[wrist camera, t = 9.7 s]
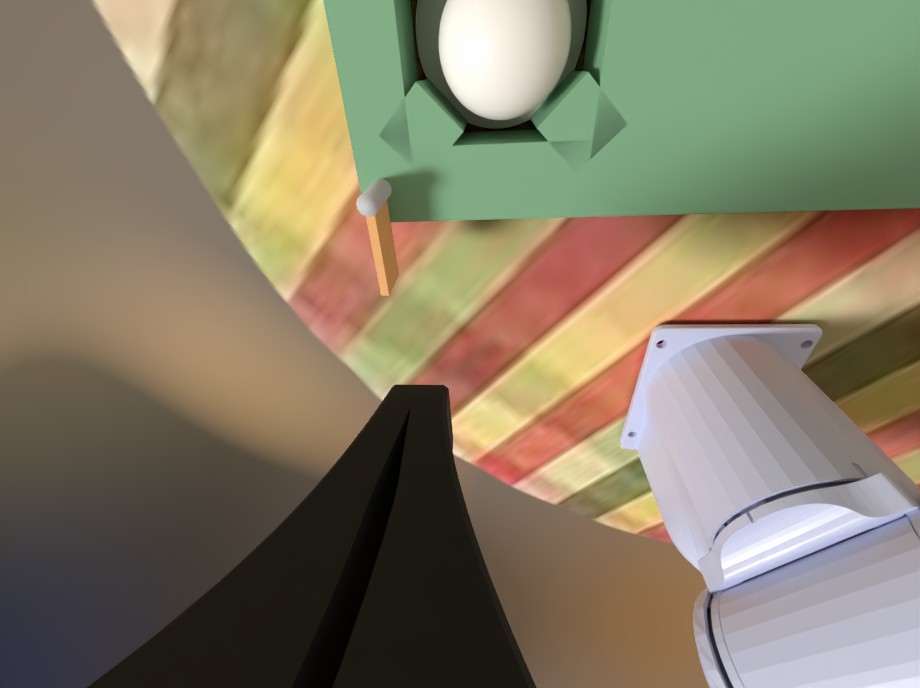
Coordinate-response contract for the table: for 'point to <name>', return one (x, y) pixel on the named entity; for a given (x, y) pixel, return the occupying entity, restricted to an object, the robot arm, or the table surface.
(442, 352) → the table surface
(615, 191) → the green board with hole
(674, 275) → the table surface
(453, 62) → the ball
